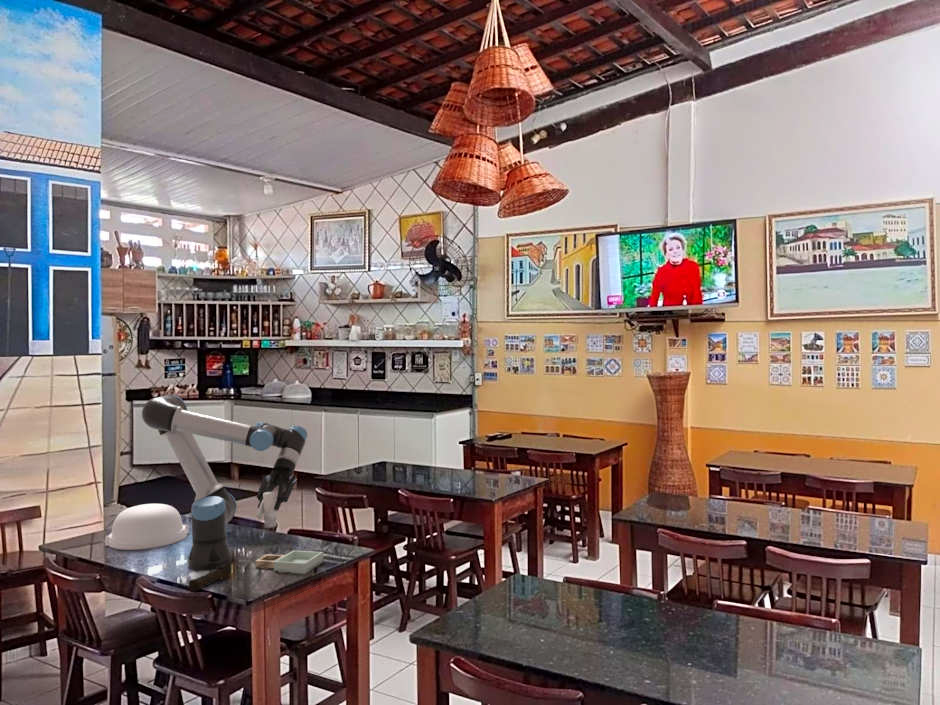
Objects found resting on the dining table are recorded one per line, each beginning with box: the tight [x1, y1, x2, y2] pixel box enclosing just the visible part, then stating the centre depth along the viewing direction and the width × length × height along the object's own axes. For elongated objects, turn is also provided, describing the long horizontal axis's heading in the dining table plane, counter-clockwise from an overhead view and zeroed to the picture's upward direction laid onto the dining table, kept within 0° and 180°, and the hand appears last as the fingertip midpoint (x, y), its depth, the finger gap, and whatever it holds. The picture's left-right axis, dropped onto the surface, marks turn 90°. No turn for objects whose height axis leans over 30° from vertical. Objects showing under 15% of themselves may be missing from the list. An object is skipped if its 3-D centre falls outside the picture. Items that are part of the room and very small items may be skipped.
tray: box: [273, 550, 324, 575], centre depth 265 cm, size 12×14×4 cm
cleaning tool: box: [263, 491, 277, 529], centre depth 267 cm, size 4×4×12 cm
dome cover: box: [104, 503, 190, 551], centre depth 307 cm, size 32×30×14 cm
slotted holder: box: [254, 553, 286, 569], centre depth 268 cm, size 8×8×2 cm
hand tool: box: [188, 563, 232, 592], centre depth 250 cm, size 19×4×5 cm, turn 157°
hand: (264, 517), depth 264 cm, fingers closed on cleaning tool, 4 cm apart
